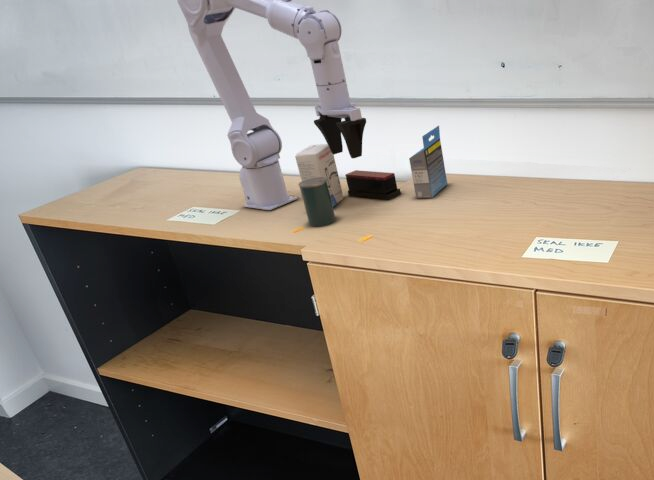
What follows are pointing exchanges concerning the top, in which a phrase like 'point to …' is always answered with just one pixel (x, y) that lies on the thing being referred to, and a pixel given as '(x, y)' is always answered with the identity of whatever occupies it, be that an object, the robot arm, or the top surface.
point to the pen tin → (317, 201)
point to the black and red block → (372, 185)
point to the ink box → (320, 168)
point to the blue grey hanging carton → (429, 167)
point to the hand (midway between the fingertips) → (346, 155)
